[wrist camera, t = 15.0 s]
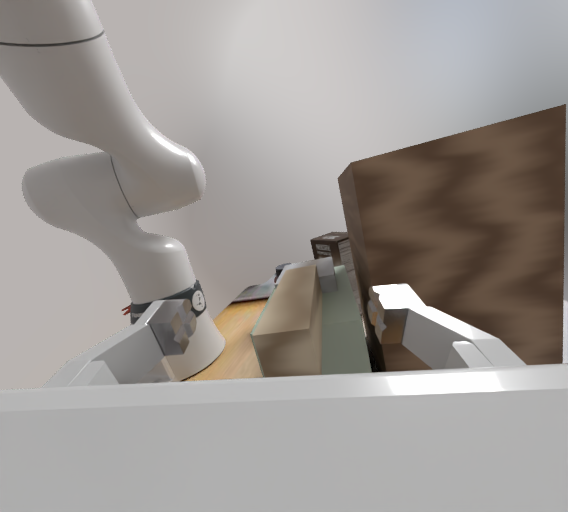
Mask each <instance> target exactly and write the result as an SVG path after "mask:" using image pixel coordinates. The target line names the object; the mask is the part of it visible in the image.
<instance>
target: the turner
mask: <svg viewBox="0 0 568 512" xmlns="http://www.w3.org/2000/svg"><path fill="white" fill-rule="evenodd" d="M275 289H276V290H275V292H274V294H273V296H272V298H271V300H270V302H269V304H268V306H267V308H266V310H265V312H264V314H263V316H262V318H261V320H260V322H259V323H258V325H257V327H256V329H255V331H254V333H253V335H252V337H253V340H254V343H255V347H256V350H257V353H258V357H259V360H260V363H261V367H262V370H263V373H264V376H265V378H267V377H288V376H309V375H322V293H328V292H334V291H338V289H337V283H336V276H335V270H334V265H333V260H332V256H331V257H326V258H321V259H316V260H311V261H305V262H301V263H295V264H290V265H285V267H284V268H283V270H282V272H281V274H280V276H279V277H278V279H277V281H276V283H275Z"/></svg>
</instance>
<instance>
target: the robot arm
mask: <svg viewBox="0 0 568 512" xmlns="http://www.w3.org/2000/svg"><path fill="white" fill-rule="evenodd" d="M0 76H1V78H2V79H3V81H4V82H5V83H6V85H7V86H8V87H9V89H10V90H11V91H12V93H13V94H14V95H15V97H16V98H17V99H18V101H19V102H20V104H21V105H22V106H23V108H24V109H25V110H26V112H27V113H28V114H29V115H30V116H31V117H32V118H33V119H35V120H36V121H37V122H38V123H40V124H41V125H43V126H44V127H46V128H47V129H49V130H50V131H52V132H54V133H56V134H58V135H60V136H63V137H66V138H69V139H73V140H76V141H79V142H83V143H86V144H90V145H92V146H95V147H97V148H99V149H101V150H103V151H105V152H100V153H92V154H84V155H76V156H69V157H62V158H59V159H55V160H52V161H50V162H46V163H43V164H40V165H38V166H35V167H32V168H29V169H28V170H27V171H26V173H25V175H24V177H23V181H22V191H23V195H24V198H25V201H26V202H27V204H28V206H29V207H30V209H31V210H32V211H33V212H34V213H35V214H36V215H37V216H38V217H39V218H41V219H42V220H44V221H45V222H47V223H49V224H50V225H53V226H55V227H57V228H60V229H63V230H67V231H69V232H72V233H75V234H77V235H79V236H81V237H83V238H85V239H87V240H89V241H90V242H92V243H93V244H95V245H96V246H97V247H98V248H100V249H101V250H102V251H103V252H104V253H105V254H106V255H107V256H108V257H109V258H110V259H111V261H112V262H113V263H114V265H115V267H116V268H117V271H118V272H119V274H120V276H121V278H122V280H123V282H124V284H125V287H126V289H127V291H128V293H129V295H130V298H131V300H132V303H131V305H129V306H128V307H126V308H124V309H122V311H124V310H126V309H128V311H126V312H125V313H124V315H126V314H128V313H131V325H130V326H128V327H126V328H125V329H123V330H121V331H119V332H118V333H116V334H114V335H112V336H111V337H109V338H107V339H105V340H104V341H102V342H100V343H98V344H97V345H95V346H93V347H92V348H90V349H88V350H86V351H85V352H83V353H81V354H79V355H78V356H76V357H74V358H72V359H71V360H69V361H67V362H66V363H65V364H64V365H63V366H62V367H61V368H60V369H59V370H58V372H56V373H55V374H54V375H53V376H52V377H51V378H50V379H49V381H47V382H46V383H45V384H44V385H43V386H42V387H41V388H32V389H12V390H0V512H568V363H565V364H544V365H526V364H525V363H524V362H523V361H522V360H521V359H520V358H519V357H518V356H517V355H516V354H515V353H514V352H513V351H512V350H511V349H509V348H508V347H507V346H506V345H505V344H504V343H503V342H502V341H501V340H500V339H499V338H496V337H494V336H492V335H490V334H488V333H486V332H484V331H482V330H479V329H477V328H475V327H473V326H471V325H469V324H467V323H464V322H462V321H460V320H458V319H456V318H454V317H452V316H449V315H447V314H445V313H443V312H441V311H439V310H437V309H435V308H432V307H426V305H425V304H424V303H423V302H422V301H421V299H420V298H419V297H418V296H417V295H416V293H415V292H414V291H413V290H412V289H411V287H410V286H409V285H408V284H406V283H403V284H394V285H384V286H372V287H370V288H369V296H370V298H371V300H370V301H369V302H368V316H369V319H370V322H371V324H372V325H374V326H375V333H376V335H377V337H378V339H379V342H380V344H393V343H402V345H403V346H405V347H406V348H407V349H408V350H410V351H411V352H412V353H413V354H415V355H416V356H417V357H418V358H420V359H421V360H422V361H423V362H425V363H426V364H427V365H428V366H430V367H431V368H432V369H433V370H416V371H396V372H376V373H354V374H332V375H309V376H288V377H267V378H246V379H225V380H203V381H182V382H180V381H181V380H183V379H185V378H187V377H189V376H192V375H194V374H195V373H197V372H199V371H201V370H202V369H204V368H205V367H207V366H208V365H209V364H211V363H212V362H213V361H214V360H215V359H216V358H217V357H218V356H219V355H220V354H221V352H222V351H223V349H224V347H225V343H226V341H225V338H224V337H223V336H222V335H221V333H220V332H219V330H218V329H217V327H216V326H215V324H214V322H213V320H212V318H211V316H210V314H209V312H208V310H207V308H206V302H205V298H204V295H203V292H202V289H201V286H200V284H199V281H198V280H196V279H195V276H194V273H193V270H192V267H191V264H190V261H189V258H188V255H187V252H186V249H185V247H184V246H183V245H182V243H180V242H179V241H178V240H176V239H174V238H171V237H167V236H163V235H157V234H151V233H146V232H144V231H143V230H142V229H141V228H140V227H139V226H138V224H137V222H136V220H137V219H138V218H140V217H145V216H149V215H154V214H159V213H163V212H168V211H173V210H177V209H180V208H182V207H184V206H187V205H189V204H192V203H194V202H196V201H198V200H200V199H201V197H202V196H203V194H204V191H205V187H206V176H205V172H204V169H203V166H202V164H201V163H200V161H199V160H198V158H197V157H196V156H195V155H194V154H193V153H192V152H191V151H190V150H189V149H187V148H186V147H184V146H181V145H179V144H177V143H175V142H173V141H172V140H170V139H168V138H167V137H165V136H164V135H163V134H162V133H160V132H159V131H158V130H157V129H156V128H155V127H154V126H153V125H152V124H151V123H150V122H149V121H148V120H147V119H146V118H145V116H144V115H143V114H142V112H141V111H140V109H139V108H138V106H137V105H136V103H135V101H134V99H133V97H132V95H131V93H130V91H129V89H128V87H127V85H126V83H125V80H124V78H123V76H122V73H121V71H120V69H119V66H118V64H117V62H116V59H115V57H114V55H113V52H112V50H111V47H110V45H109V42H108V40H107V37H106V34H105V32H104V29H103V27H102V24H101V22H100V19H99V17H98V14H97V12H96V9H95V7H94V4H93V2H92V0H0Z"/></svg>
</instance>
